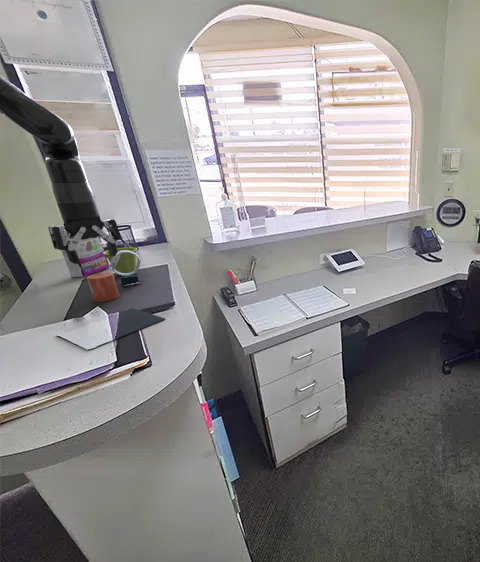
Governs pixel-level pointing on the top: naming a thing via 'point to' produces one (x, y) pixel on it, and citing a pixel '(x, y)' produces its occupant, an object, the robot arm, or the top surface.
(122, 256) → the plant pot
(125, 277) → the watch
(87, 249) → the candy bar box
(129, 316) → the desk mat
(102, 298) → the orange cylinder
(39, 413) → the top surface
